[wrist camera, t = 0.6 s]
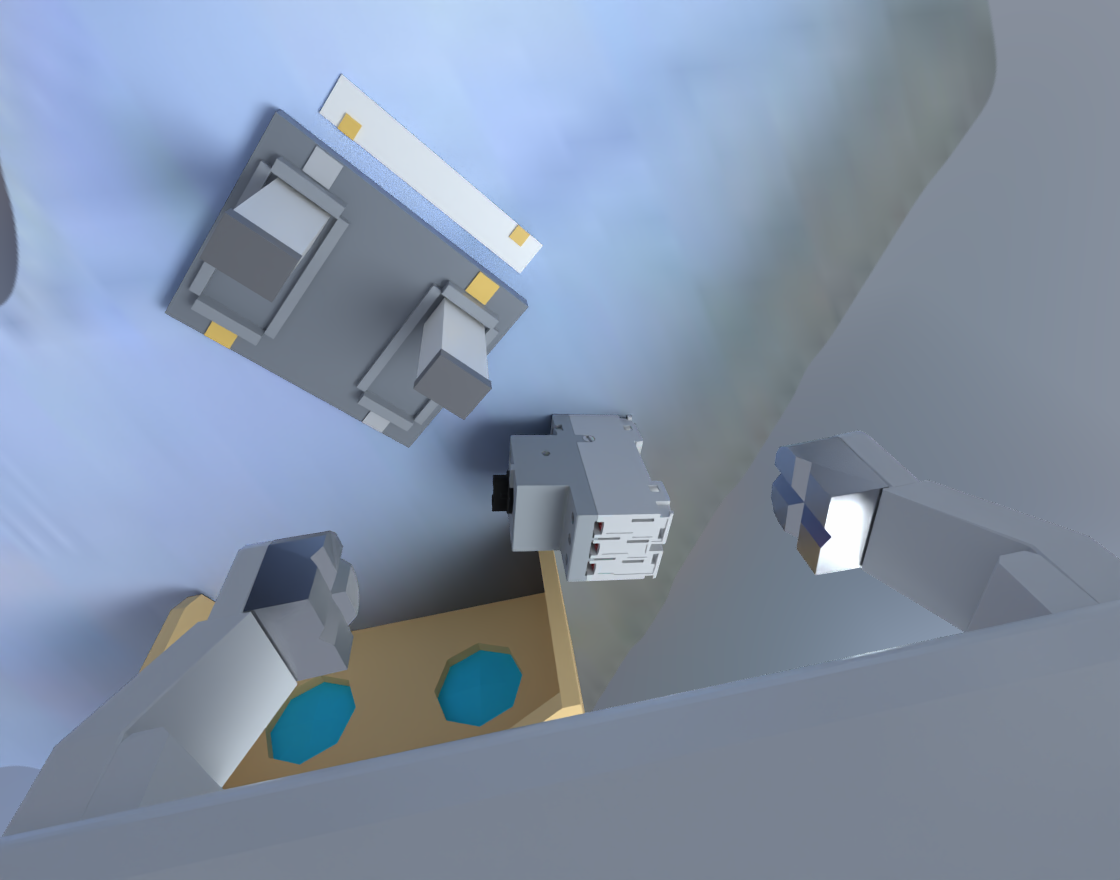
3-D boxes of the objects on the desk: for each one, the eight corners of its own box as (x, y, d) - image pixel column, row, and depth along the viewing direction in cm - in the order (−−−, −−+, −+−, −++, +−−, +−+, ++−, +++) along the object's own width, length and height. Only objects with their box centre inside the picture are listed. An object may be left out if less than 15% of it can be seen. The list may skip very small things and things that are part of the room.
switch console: (314, 50, 38) (305, 50, 36) (560, 260, 48) (565, 270, 46) (172, 305, 46) (158, 319, 43) (409, 439, 56) (407, 455, 54)
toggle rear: (444, 295, 46) (440, 354, 37) (485, 325, 48) (491, 388, 39) (422, 324, 48) (413, 388, 39) (463, 352, 49) (464, 419, 41)
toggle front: (277, 174, 40) (224, 212, 31) (333, 215, 42) (298, 260, 33) (256, 211, 41) (199, 258, 32) (311, 249, 43) (272, 302, 34)
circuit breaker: (490, 413, 55) (498, 517, 43) (631, 415, 58) (676, 513, 46) (487, 474, 60) (495, 584, 47) (619, 473, 62) (658, 578, 50)
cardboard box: (283, 707, 77) (222, 934, 58) (185, 581, 62) (58, 829, 42) (572, 648, 79) (609, 848, 59) (545, 510, 64) (583, 718, 44)
